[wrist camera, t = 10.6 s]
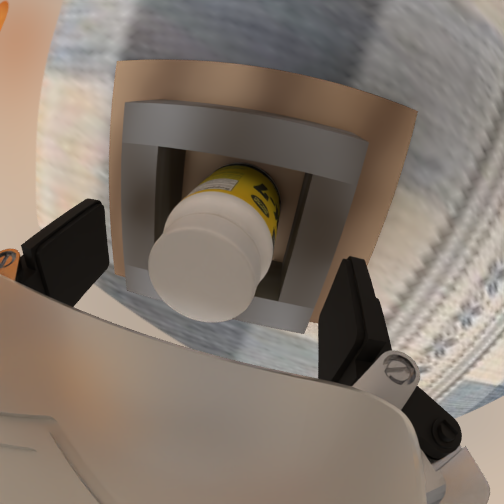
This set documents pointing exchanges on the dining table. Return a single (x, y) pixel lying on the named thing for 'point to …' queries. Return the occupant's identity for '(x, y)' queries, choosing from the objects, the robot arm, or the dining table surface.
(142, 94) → the pocket board
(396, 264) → the dining table surface
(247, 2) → the dining table surface
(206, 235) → the supplement bottle
